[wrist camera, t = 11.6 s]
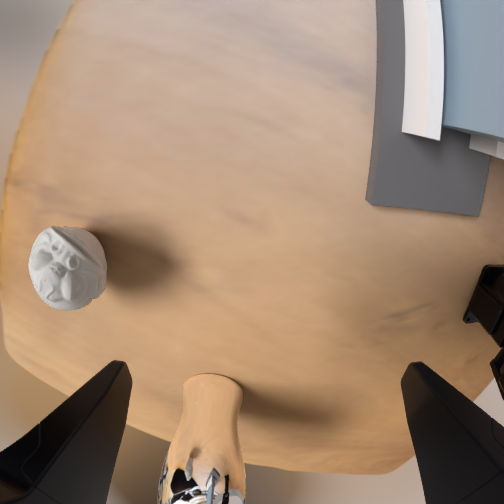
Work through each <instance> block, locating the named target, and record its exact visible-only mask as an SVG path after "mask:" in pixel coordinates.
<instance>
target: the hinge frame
mask: <svg viewBox="0 0 504 504" xmlns="http://www.w3.org/2000/svg"><path fill="white" fill-rule="evenodd" d="M376 16H377V78H376V100H375V116H374V129H373V140H372V150H371V160H370V168H369V176H368V184H367V191H366V198H365V200H367V201H368V202H369V203H370V204H371V205H380V206H391V207H402V208H412V209H421V210H430V211H439V212H447V213H455V214H463V215H471V216H478V217H479V214H480V210H481V206H482V201H483V197H484V192H485V187H486V182H487V176H488V170H489V164H490V157H491V155H492V156H495V157H498V158H501V159H503V160H504V143H503V142H499V141H496V140H492V139H488V138H484V137H480V136H476V135H472V134H468V133H464V132H460V131H457V130H454V129H450V128H447V127H443V126H441V123H442V110H443V91H444V44H443V26H442V14H441V4H440V0H376Z"/></svg>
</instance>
